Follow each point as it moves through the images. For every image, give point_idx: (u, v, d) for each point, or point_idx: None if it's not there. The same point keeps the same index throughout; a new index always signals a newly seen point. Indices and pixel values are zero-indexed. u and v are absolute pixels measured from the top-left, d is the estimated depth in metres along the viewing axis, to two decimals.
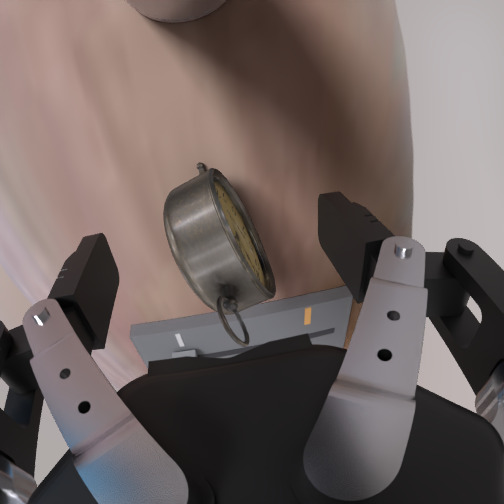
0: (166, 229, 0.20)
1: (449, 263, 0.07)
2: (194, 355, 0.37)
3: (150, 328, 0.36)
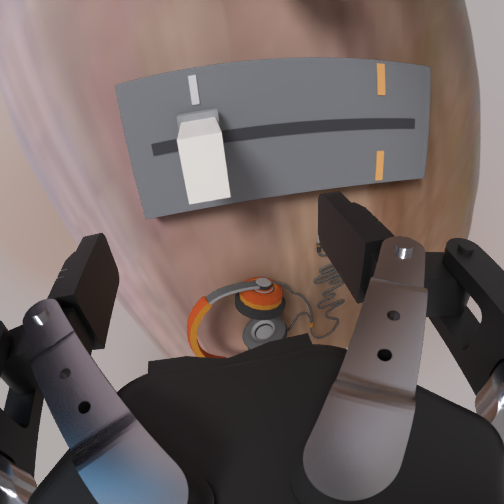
0: None
1: (449, 263, 0.07)
2: (215, 109, 0.21)
3: None
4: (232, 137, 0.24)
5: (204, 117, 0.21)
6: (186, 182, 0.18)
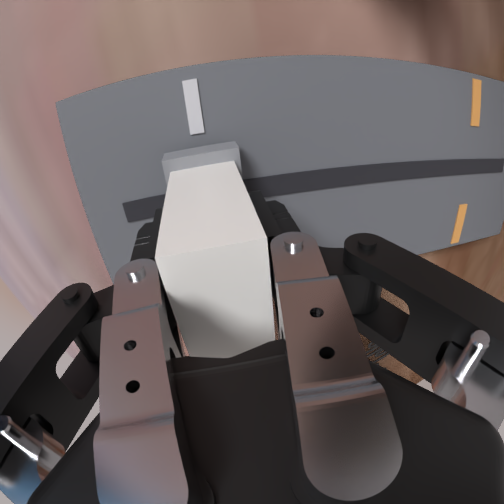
0: None
1: (354, 264, 0.08)
2: (234, 146, 0.12)
3: None
4: (261, 191, 0.15)
5: (214, 161, 0.12)
6: (185, 336, 0.08)
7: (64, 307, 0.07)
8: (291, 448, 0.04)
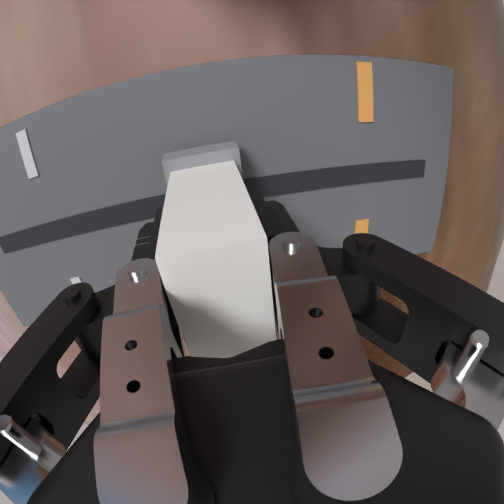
0: None
1: (353, 264, 0.08)
2: (234, 146, 0.12)
3: None
4: (95, 223, 0.14)
5: (214, 161, 0.12)
6: (186, 336, 0.08)
7: (65, 307, 0.07)
8: (291, 448, 0.04)
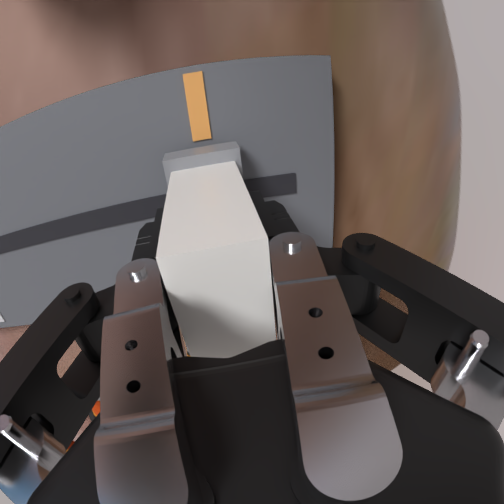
0: None
1: (352, 264, 0.08)
2: (235, 146, 0.12)
3: None
4: None
5: (214, 162, 0.12)
6: (186, 336, 0.08)
7: (65, 307, 0.07)
8: (291, 448, 0.04)
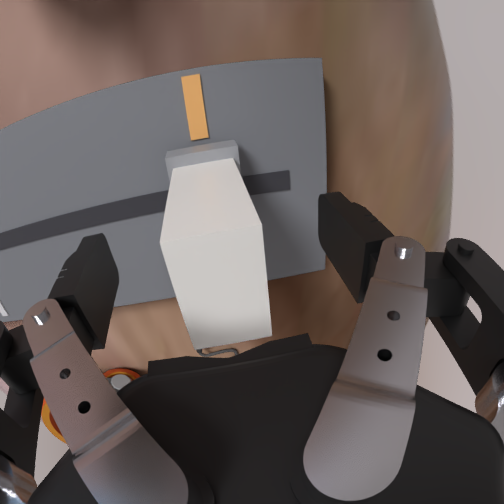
0: None
1: (449, 263, 0.07)
2: (233, 144, 0.13)
3: None
4: None
5: (214, 159, 0.12)
6: (187, 318, 0.09)
7: None
8: (313, 430, 0.04)
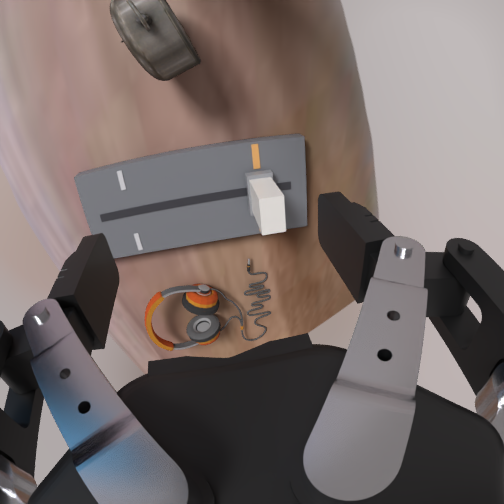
0: None
1: (449, 263, 0.07)
2: (271, 172, 0.35)
3: (95, 169, 0.34)
4: (148, 209, 0.37)
5: (264, 177, 0.35)
6: (262, 222, 0.32)
7: None
8: (313, 430, 0.04)
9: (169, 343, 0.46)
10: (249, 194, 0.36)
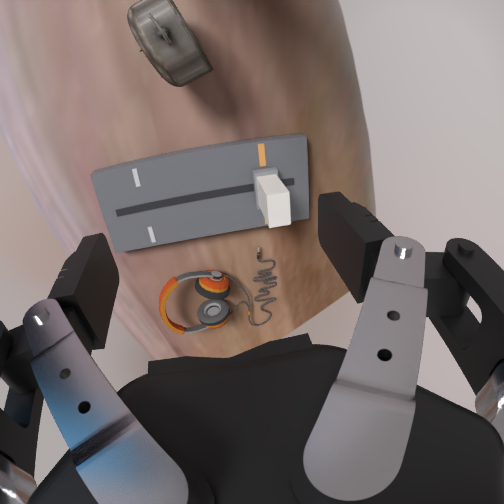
0: (128, 12, 0.21)
1: (449, 263, 0.07)
2: (276, 169, 0.38)
3: (111, 167, 0.37)
4: (162, 204, 0.40)
5: (269, 174, 0.38)
6: (269, 216, 0.35)
7: None
8: (313, 430, 0.04)
9: (180, 327, 0.49)
10: (256, 190, 0.39)
